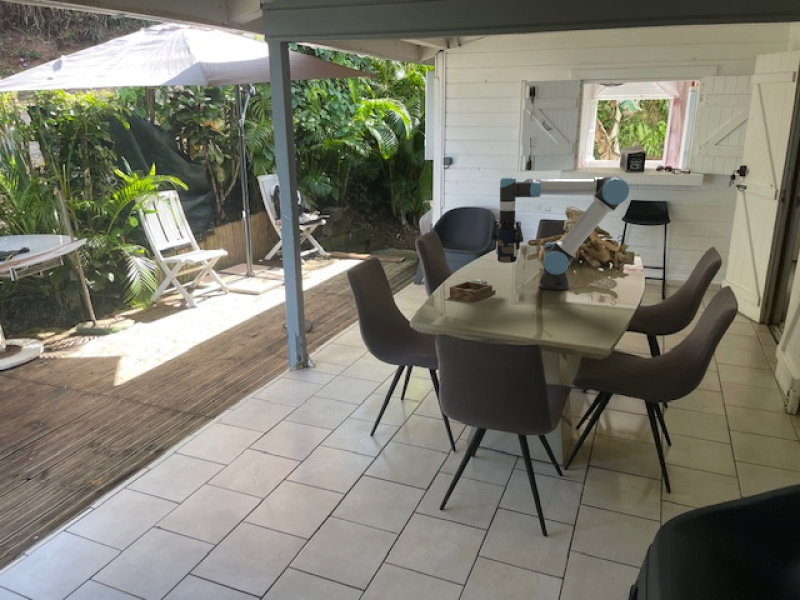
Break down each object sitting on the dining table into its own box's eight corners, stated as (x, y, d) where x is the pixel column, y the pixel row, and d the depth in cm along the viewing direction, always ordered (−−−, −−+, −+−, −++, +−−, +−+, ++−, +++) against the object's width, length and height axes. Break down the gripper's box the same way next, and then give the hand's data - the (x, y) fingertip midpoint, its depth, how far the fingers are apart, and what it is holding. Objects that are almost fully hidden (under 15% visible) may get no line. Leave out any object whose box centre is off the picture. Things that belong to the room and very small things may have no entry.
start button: (482, 286, 316) (482, 280, 315) (478, 288, 313) (478, 281, 312) (476, 285, 318) (476, 279, 317) (472, 287, 316) (472, 280, 315)
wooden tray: (495, 294, 305) (495, 284, 303) (474, 301, 292) (475, 291, 290) (470, 289, 314) (470, 280, 313) (449, 297, 301) (449, 287, 300)
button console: (486, 288, 316) (487, 281, 315) (479, 290, 311) (479, 284, 310) (475, 286, 321) (475, 279, 320) (468, 288, 316) (468, 282, 315)
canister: (516, 264, 299) (516, 227, 294) (496, 264, 301) (497, 227, 296) (516, 260, 308) (517, 224, 303) (497, 260, 310) (498, 224, 305)
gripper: (531, 210, 293) (530, 255, 299) (492, 207, 307) (492, 251, 313) (523, 212, 288) (522, 258, 294) (484, 209, 302) (484, 253, 308)
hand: (507, 254), depth 304 cm, fingers closed on canister, 9 cm apart
